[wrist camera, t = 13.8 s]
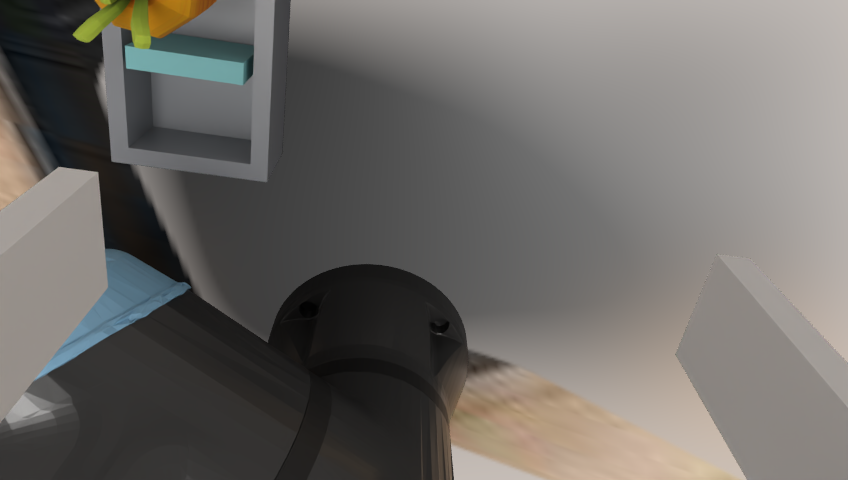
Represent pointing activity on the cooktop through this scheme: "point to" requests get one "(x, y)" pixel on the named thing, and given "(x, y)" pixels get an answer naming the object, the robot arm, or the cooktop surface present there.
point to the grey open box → (204, 99)
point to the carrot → (142, 18)
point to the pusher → (194, 58)
